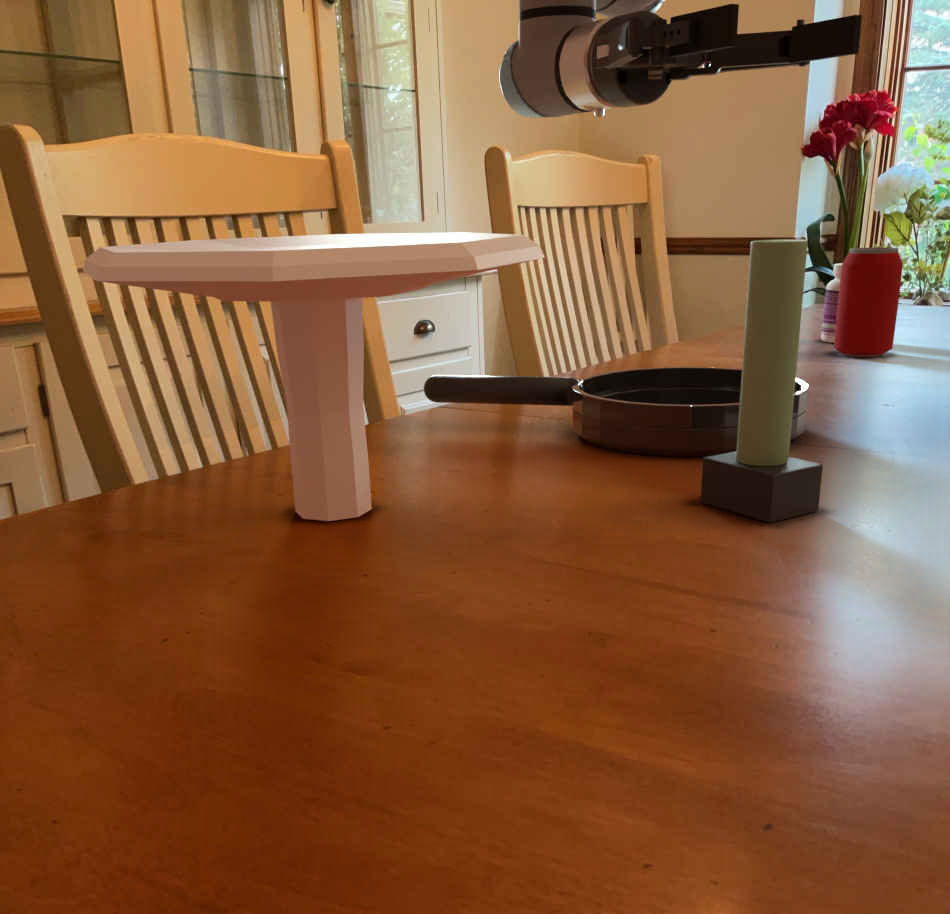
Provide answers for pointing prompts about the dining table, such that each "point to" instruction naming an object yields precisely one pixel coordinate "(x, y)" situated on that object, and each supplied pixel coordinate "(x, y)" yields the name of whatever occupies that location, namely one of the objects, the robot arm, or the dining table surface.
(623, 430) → the frying pan
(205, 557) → the dining table surface
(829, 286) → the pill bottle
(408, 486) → the dining table surface
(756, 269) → the green peg on base
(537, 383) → the pan handle
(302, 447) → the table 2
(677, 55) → the robot arm
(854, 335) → the beverage can
